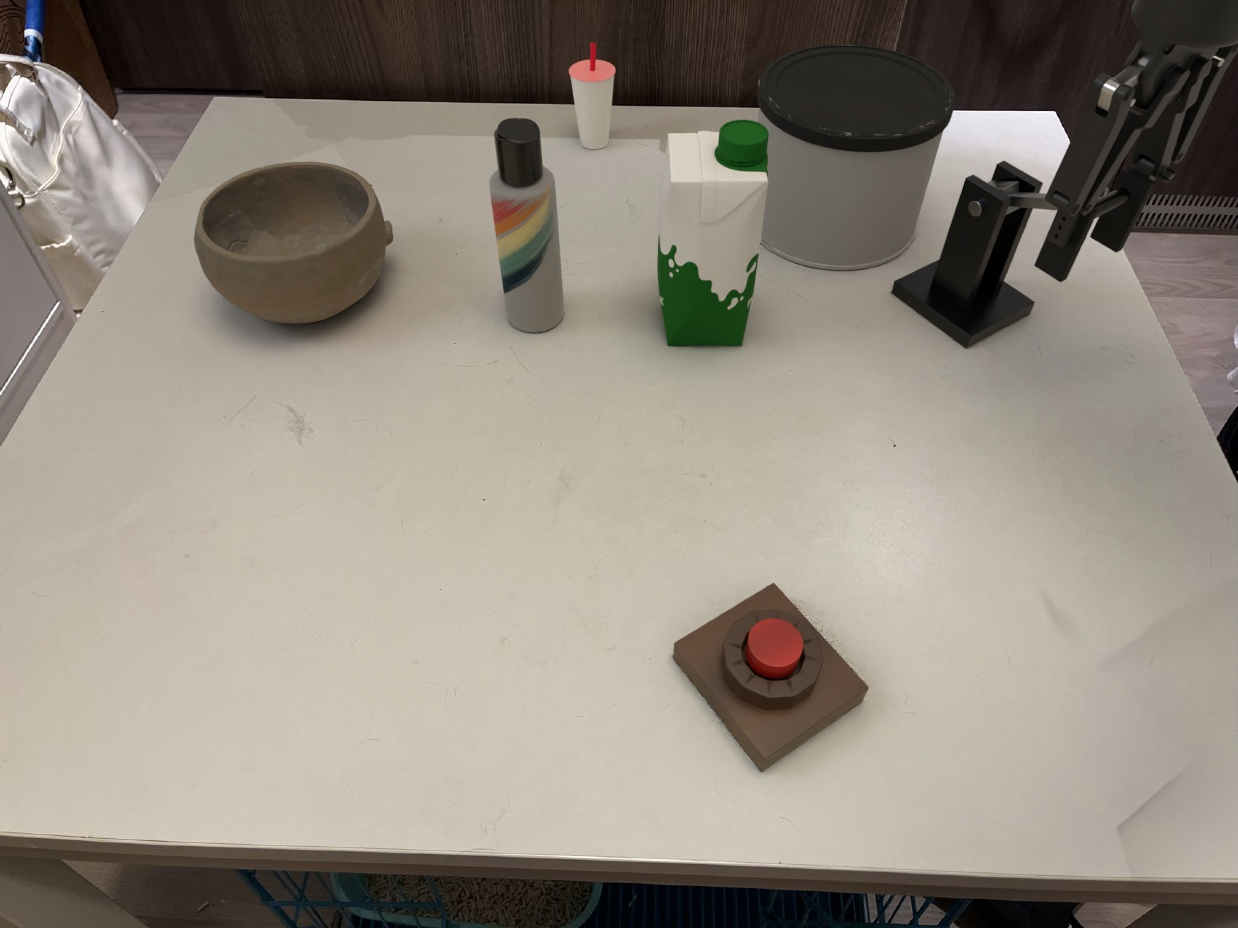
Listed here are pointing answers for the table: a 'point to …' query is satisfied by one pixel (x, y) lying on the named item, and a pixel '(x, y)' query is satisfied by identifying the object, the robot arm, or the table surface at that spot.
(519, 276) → the lotion bottle
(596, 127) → the cup
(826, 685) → the control block
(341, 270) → the bowl
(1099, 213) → the lever handle
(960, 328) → the black lever switch
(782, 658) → the red push button
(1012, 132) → the table surface
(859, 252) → the container
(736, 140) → the milk carton
